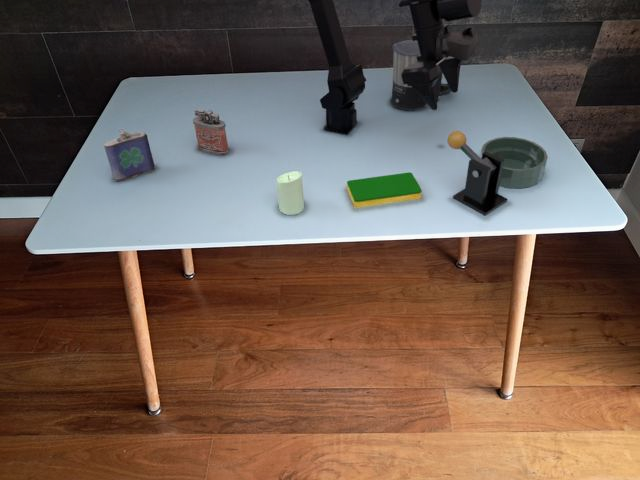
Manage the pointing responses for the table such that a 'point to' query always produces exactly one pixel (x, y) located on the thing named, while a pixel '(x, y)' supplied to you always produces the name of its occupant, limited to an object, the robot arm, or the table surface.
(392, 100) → the milk frother
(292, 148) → the table surface
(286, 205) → the candle
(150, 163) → the flask
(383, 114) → the table surface
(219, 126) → the lighter
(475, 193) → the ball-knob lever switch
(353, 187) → the dish sponge
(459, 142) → the tap lever
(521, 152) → the basin
